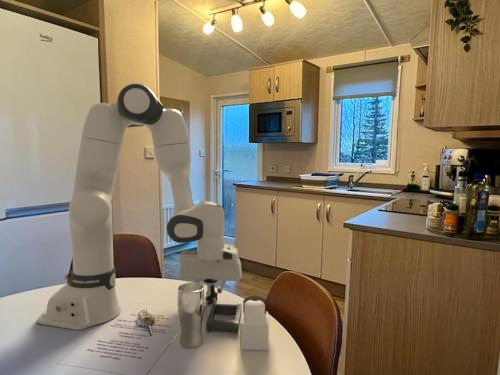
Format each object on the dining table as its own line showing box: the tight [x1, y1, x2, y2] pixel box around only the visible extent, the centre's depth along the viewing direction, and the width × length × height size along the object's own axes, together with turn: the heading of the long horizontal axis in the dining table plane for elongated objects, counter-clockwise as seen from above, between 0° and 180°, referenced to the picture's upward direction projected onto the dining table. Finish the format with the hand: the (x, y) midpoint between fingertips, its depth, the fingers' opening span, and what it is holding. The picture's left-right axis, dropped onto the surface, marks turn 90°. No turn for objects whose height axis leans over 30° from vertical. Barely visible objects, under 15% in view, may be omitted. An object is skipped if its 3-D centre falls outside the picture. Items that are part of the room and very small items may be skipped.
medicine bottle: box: [239, 295, 270, 352], centre depth 88 cm, size 7×7×12 cm
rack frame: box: [205, 302, 243, 335], centre depth 99 cm, size 9×12×3 cm
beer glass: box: [176, 282, 206, 350], centre depth 88 cm, size 7×7×15 cm
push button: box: [202, 279, 219, 307], centre depth 111 cm, size 7×5×10 cm
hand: (210, 292), depth 111 cm, fingers closed on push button, 5 cm apart
